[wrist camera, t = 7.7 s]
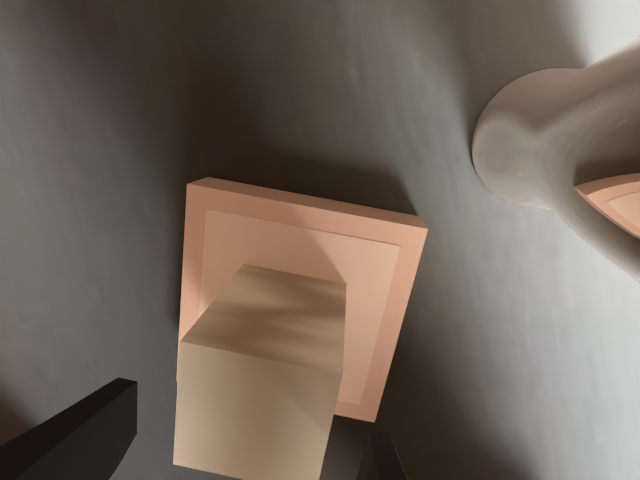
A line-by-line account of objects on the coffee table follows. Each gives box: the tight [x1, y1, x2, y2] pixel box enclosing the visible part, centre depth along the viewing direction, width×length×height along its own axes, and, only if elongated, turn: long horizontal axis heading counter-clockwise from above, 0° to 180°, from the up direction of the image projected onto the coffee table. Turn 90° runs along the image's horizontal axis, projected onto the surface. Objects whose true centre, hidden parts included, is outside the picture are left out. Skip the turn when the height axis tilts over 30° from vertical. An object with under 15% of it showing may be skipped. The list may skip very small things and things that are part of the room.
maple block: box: [173, 264, 347, 480], centre depth 14 cm, size 5×5×6 cm
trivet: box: [177, 177, 428, 423], centre depth 19 cm, size 11×11×2 cm
